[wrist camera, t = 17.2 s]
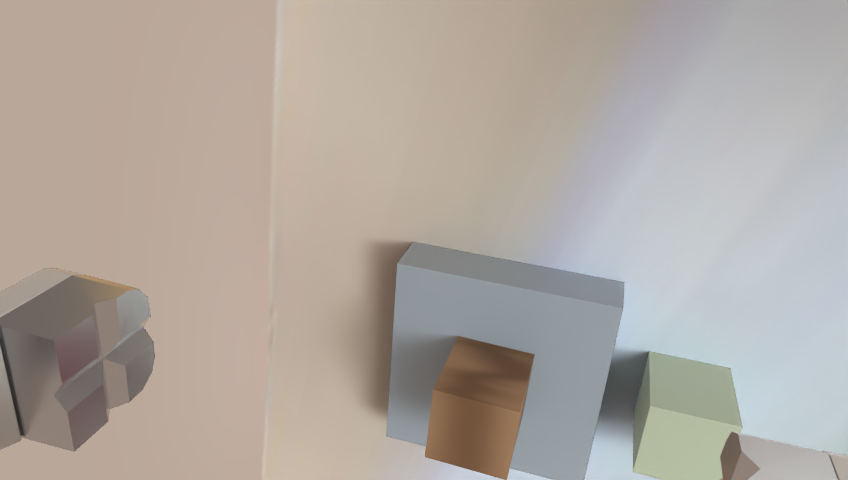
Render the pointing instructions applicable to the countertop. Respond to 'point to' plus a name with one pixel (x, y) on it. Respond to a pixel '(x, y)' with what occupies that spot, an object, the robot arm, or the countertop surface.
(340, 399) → the countertop surface
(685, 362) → the sage block
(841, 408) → the countertop surface
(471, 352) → the walnut block
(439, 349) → the slate base block
